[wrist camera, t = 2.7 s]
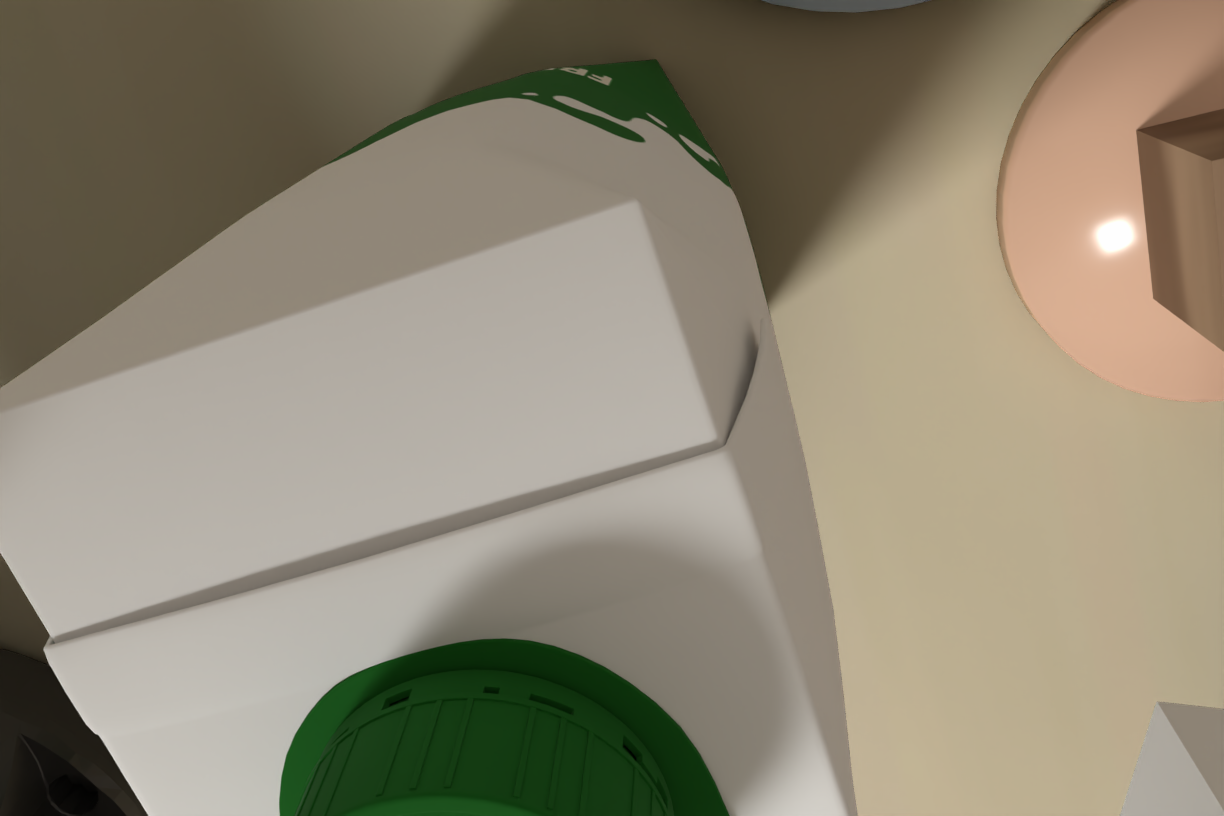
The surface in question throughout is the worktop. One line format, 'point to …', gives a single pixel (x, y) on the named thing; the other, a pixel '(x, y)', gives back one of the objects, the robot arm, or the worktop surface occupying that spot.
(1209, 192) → the walnut block
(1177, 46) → the terracotta dish
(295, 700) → the soya milk
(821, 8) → the slate dish
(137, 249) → the worktop surface
